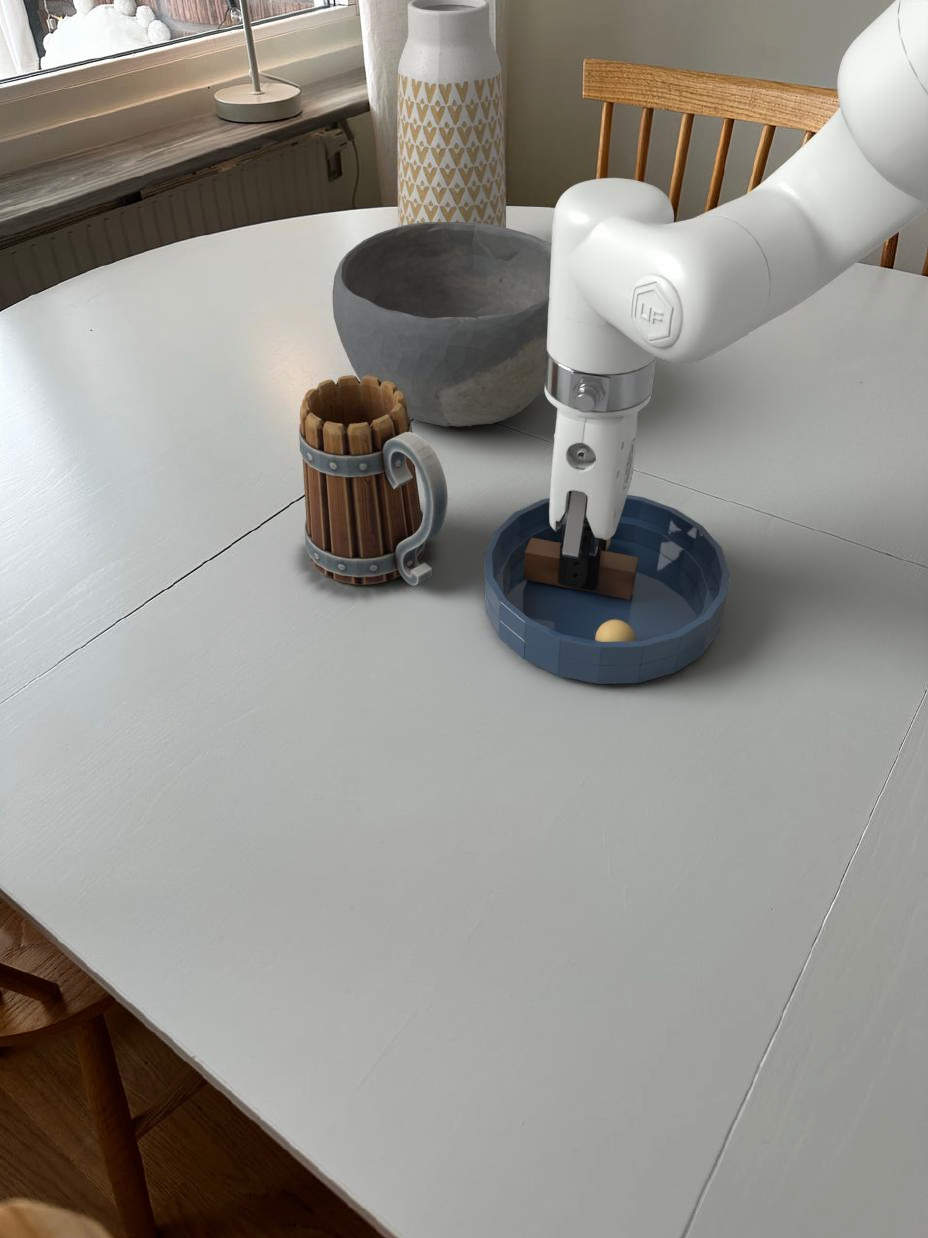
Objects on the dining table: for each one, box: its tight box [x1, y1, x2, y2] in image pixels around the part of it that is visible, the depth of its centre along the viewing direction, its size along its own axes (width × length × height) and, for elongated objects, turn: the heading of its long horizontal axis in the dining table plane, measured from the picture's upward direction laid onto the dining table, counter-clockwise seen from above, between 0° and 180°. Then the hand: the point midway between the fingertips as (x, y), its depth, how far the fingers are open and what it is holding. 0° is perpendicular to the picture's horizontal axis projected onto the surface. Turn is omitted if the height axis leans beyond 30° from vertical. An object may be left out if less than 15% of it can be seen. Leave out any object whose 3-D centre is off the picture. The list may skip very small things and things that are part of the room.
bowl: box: [332, 222, 552, 428], centre depth 100 cm, size 24×24×15 cm
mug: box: [298, 374, 449, 586], centre depth 80 cm, size 16×11×15 cm
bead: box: [595, 620, 635, 642], centre depth 75 cm, size 3×3×3 cm
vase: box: [396, 0, 507, 228], centre depth 118 cm, size 14×14×31 cm
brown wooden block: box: [524, 538, 639, 600], centre depth 80 cm, size 9×2×3 cm, turn 73°
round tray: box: [483, 494, 731, 685], centre depth 79 cm, size 19×19×4 cm
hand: (581, 573), depth 80 cm, fingers closed on brown wooden block, 2 cm apart
